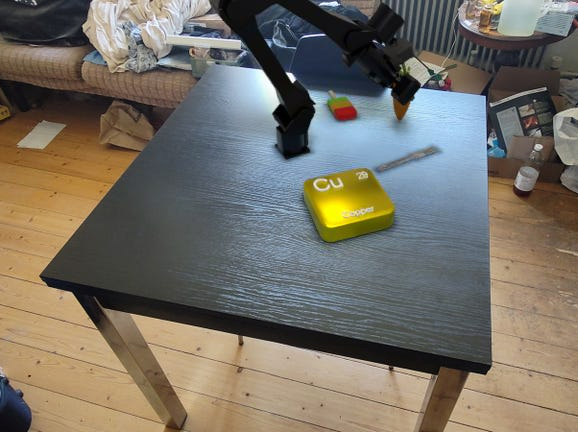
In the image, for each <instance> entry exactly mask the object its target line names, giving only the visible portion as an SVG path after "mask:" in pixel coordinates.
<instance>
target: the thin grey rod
mask: <svg viewBox="0 0 578 432" xmlns="http://www.w3.org/2000/svg"><path fill="white" fill-rule="evenodd" d="M438 151H439V150H438V149H437V148H436V147H434V146H431V147H428V148H426V149H421V150H419V151H416V152H414V153H412V154H411V155H408V156H405V157H403V158H400V159H397V160H394V161H392V162H389V163H386V164H383V165H380V166H377V167H376V170H377V171H378V173H381V172H383V171H386V170H388V169H392V168H395V167H397V166H400V165H402V164H405V163H408V162H410V161H413V160H418V159H421V158H424V157H427V156H429V155H432V154H435V153H437V152H438Z"/></svg>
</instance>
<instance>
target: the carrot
mask: <svg viewBox="0 0 578 432" xmlns="http://www.w3.org/2000/svg"><path fill="white" fill-rule="evenodd" d="M401 68H402V69H401V70H400V71H399V72H397V73H398V74H399V75H400V76H402V75H406V74H410V73H411V66H406V62H405V63H403V64H402V65H401ZM396 79H397V78H396ZM397 80H398V79H397ZM398 81H399V80H398ZM394 86H395V84H393V88H394ZM411 102H412V101H409V102H408V103H407V104H406V105H404V106H402V105H401V104H400V103H399V102H397V101H396V100H395V99H394V98H393V97H392V107H393V111H394V116H395V117H396V120H397V121H402V120H403V118H404V117H405V116H406V114H407V112H408V110H409V108H410V105H411Z"/></svg>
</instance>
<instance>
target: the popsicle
mask: <svg viewBox="0 0 578 432" xmlns="http://www.w3.org/2000/svg"><path fill="white" fill-rule="evenodd" d="M328 94H329V95H330V96H331V97H332V98H328V99H327V100H326V103H327V105H328V108H329V109H330V110H331V112H332V113H333V115H334V116H335V118H336V119H337V120H338V121H341V122H342V121H348V120H354V119H356V118H357V117H358V111H357V108H355V106H354V105H353V104H352V103H351V101H350V100H349V99H348V97H347V96H339V97H337V96H336V94H335V93H334V91H333V90H328Z"/></svg>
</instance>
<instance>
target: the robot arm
mask: <svg viewBox="0 0 578 432" xmlns="http://www.w3.org/2000/svg"><path fill="white" fill-rule="evenodd" d="M208 2H209V5H210V7H211V9H212V10H213V11H214V12H215V14H216V15H218V17H219V18H220V19H221V21H223V23H224V24H225V25H226V26H227V27H228V28H229V29H230V30H231V31H232V32H233V33H234V34H235V35H236V36H237V37H238V38H239V39H240V40H241V41H242V43H243V44H244V46H245V47H246V49H247V50H248V51H249V53H250V55H251V57H253V59H254V61H256V64H257V65H258V66H259V68H260V69H261V71H262V72H263V74H264V75H265V76H266V78H267V79H268V81H269V82H270V84H271V86H272V87H273V88H274V91H275V94H276V97H277V100H278V102H279V104H278V105H277V106H276V107H275V108H274V109H273V111H272V113H271V115H272V117H273V119H274V121H275V122H276V123H277V124H278V125H277V126H275V133H276V134H275V135H276V143H275V144H274V147H275V149H276V150H277V151H278V153H280V155H281V156H282V157H283V158H284V160H289V159H290V160H291V159H293V158H296V157H299V156H302V155H305V154H308V153H311V148H310V147H308V146H309V143H310V142H309V129H310V126H311V123H312V121H313V119H314V118H315V115H316V112H317V111H316V108H315V106H316V105H317V103H316V102H315V101H314V100H313V98H311V96H310V93H309V91H308V89H307V88H306V87H305V86H304V85H303V84H302V83H301V82H300V81H299V80H298V79H297V78H296V79H295V80H294V81H293V82H292V80H291V79H290V77H289V75H288V74H287V72H286V70H285V69H284V67H283V66H282V64H281V62H280V61H279V60H278V58H277V56H276V54H275V53H274V51H273V50H272V48H271V47H270V45H269V44H268V42H267V40H266V39H265V37H264V35H263V34H262V33H261V31H260V28H259V25H258V24H259V23H258V21H257V17H256V16H258V15H260V14H262V13H263V12H265V11H266V10H268V9H270V7H272V6H275V5H278V6H280V7H282V8H283V9H285V10H286V11H288V12H290V13H292V14H293V15H295V16H296V17H297V18H299V19H301V20H302V21H304V22H306V23H308V24H310V25H311V26H312V27H315V28H317V29H318V30H319V31H320V32H321V33H322V34H323V35H324V36H325V37H327V38H328V39H329V41H331V42H332V43H333V44H334V45H335V46H337V47H338V48H339V49H340V50H342V51H341V59H340V61H341V63H342V64H344V65H345V66H346V67H347V68H348V69H349V68H351V67H352V66H354V63H355V64H356V65H357V66H358V67H359V68H360V72H361V73H362V74H363V75H364V76H366V77H367V78H368V79H371V81H372V82H373V83H375V84H376V85H378V86H380V87H381V88H382V89H384V88H387V89H390V96H391V97H392V99H393V98H394V99H395V100H396V101H397V102H399V103H400V104H401V105H402V106H404V105H406V104H407V103H408V102H409V101H411V102H414V100H415V99H416V96H415V95H416V94H417V93H418V92H419V90H420V89H421V88H422V83H421V81H419V80H418V79H417V78H415V77H414V76H413V75H412V74H410V73H409V74H406V75H402V76H400V75H399V74H398V73H397V72H399V71H400V70H401V71H402V70H403V68H402V64H403V63H405V64H406V62H407V61H409V60H411V59H413V58H414V57H415V55H416V54H415V50H414V47H413V43H412V42H411V41H410V40H408V39H407V38H404V37H400V36H397V38H396V37H395V36H396V35H397V33H399V31H400V30H401V29H402V28H403V26H404V25H405V24H406V21H405V19H404V18H403V17H402V16H401V15H400V14H399V13H397V12H396V11H395V10H394V9H392V8H391V7H390V6H389V5H388V4H387V3H385V2H383V1H382V2H380V4H379V5H378V7H377V9H376V10H375V12H374V13H373V14H372V15H371V17H370V18H369V19H368V21H366V22H365V21H364V20H362V19H359V18H358V19H357V18H356V19H355V18H354V19H352V18H348V16H346V15H343V14H340V13H338V12H335V11H332V10H328V9H325V8H324V7H322V6H320V5H318V4H317V3H316V2H314V1H313V0H208ZM374 41H375V42H376V43H377V44H379V45H380V46H382V45H383V44H384V49H381V48H380V47H379V46H377V45H376V44H375V42H374ZM397 79H398V80H399V81H398V80H397ZM393 84H395V86H394V88H393Z"/></svg>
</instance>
